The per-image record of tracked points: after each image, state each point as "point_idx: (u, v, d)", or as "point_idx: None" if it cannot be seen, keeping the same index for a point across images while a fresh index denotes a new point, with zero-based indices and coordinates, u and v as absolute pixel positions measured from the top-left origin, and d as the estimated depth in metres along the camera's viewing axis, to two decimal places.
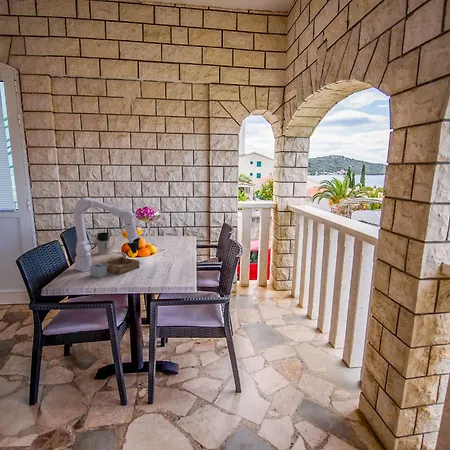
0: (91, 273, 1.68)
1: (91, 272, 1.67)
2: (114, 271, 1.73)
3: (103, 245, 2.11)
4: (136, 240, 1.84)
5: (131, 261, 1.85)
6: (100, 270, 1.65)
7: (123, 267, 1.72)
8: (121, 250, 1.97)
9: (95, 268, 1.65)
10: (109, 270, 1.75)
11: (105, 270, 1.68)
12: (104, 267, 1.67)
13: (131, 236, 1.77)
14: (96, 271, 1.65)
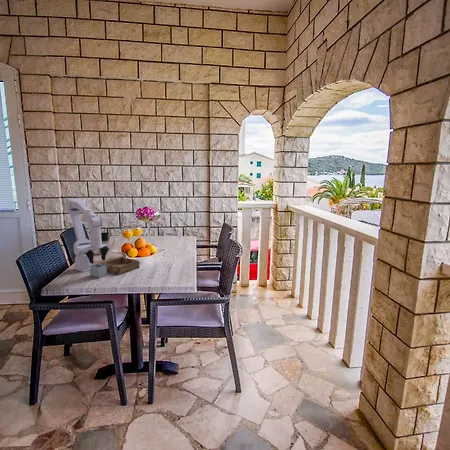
0: (91, 273, 1.68)
1: (91, 272, 1.67)
2: (114, 271, 1.73)
3: None
4: (103, 250, 1.69)
5: (131, 261, 1.85)
6: (100, 270, 1.65)
7: (123, 267, 1.72)
8: (121, 250, 1.97)
9: (95, 268, 1.65)
10: (109, 270, 1.75)
11: (105, 270, 1.68)
12: (104, 267, 1.67)
13: (91, 245, 1.63)
14: (96, 271, 1.65)
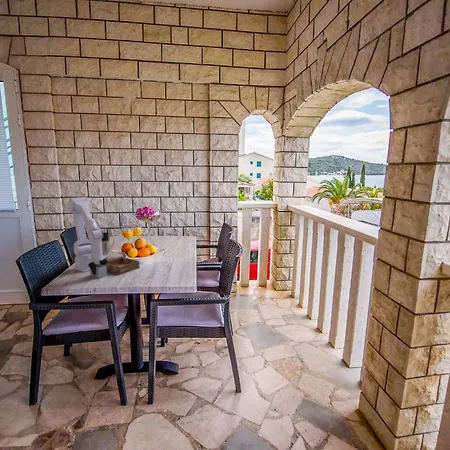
0: (91, 273, 1.68)
1: (91, 272, 1.67)
2: (114, 271, 1.73)
3: (103, 245, 2.11)
4: (103, 262, 1.69)
5: (131, 261, 1.85)
6: (100, 270, 1.65)
7: (123, 267, 1.72)
8: (121, 250, 1.97)
9: None
10: (109, 270, 1.75)
11: (105, 270, 1.68)
12: (104, 267, 1.67)
13: (92, 257, 1.64)
14: (96, 271, 1.65)
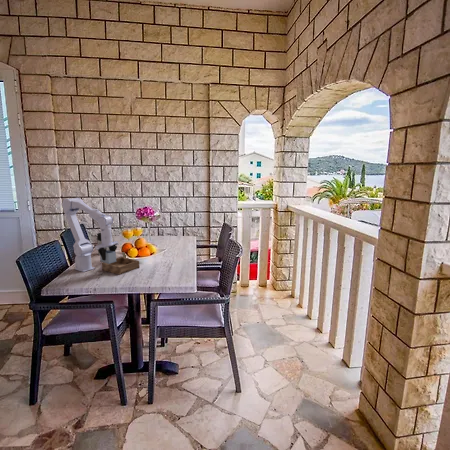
0: (101, 259, 1.72)
1: (101, 257, 1.72)
2: (114, 271, 1.73)
3: None
4: (112, 248, 1.73)
5: (131, 261, 1.85)
6: (110, 256, 1.69)
7: (123, 267, 1.72)
8: (121, 250, 1.97)
9: None
10: (109, 270, 1.75)
11: (114, 256, 1.72)
12: (114, 253, 1.71)
13: (102, 242, 1.68)
14: (106, 257, 1.69)
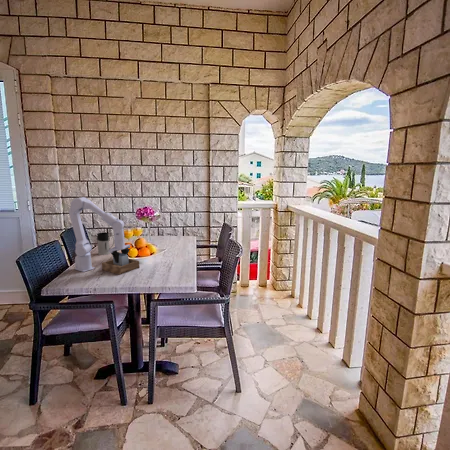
0: (114, 261, 1.79)
1: (114, 260, 1.79)
2: (114, 271, 1.73)
3: (103, 245, 2.11)
4: (124, 251, 1.81)
5: (131, 261, 1.85)
6: (123, 258, 1.76)
7: (123, 267, 1.72)
8: None
9: None
10: (109, 270, 1.75)
11: (127, 259, 1.79)
12: (126, 256, 1.78)
13: (115, 246, 1.76)
14: (119, 259, 1.77)
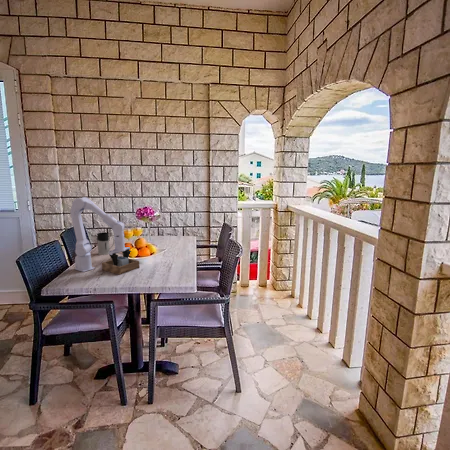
0: None
1: None
2: (114, 271, 1.73)
3: (103, 245, 2.11)
4: (126, 252, 1.82)
5: (131, 261, 1.85)
6: (123, 262, 1.77)
7: (123, 267, 1.72)
8: None
9: (118, 260, 1.77)
10: (109, 270, 1.75)
11: (127, 262, 1.79)
12: (126, 259, 1.79)
13: (116, 248, 1.76)
14: (119, 263, 1.77)
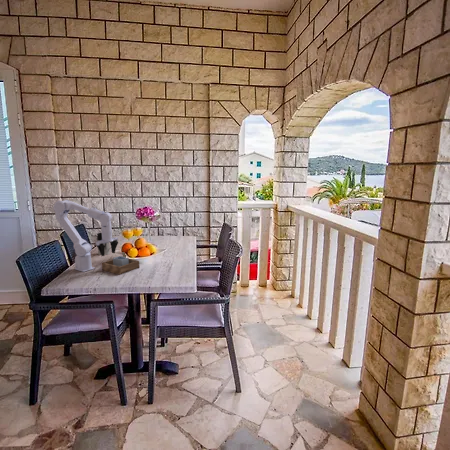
0: None
1: (114, 263, 1.79)
2: (114, 271, 1.73)
3: None
4: (113, 243, 1.80)
5: (131, 261, 1.85)
6: (123, 262, 1.77)
7: (123, 267, 1.72)
8: (121, 250, 1.97)
9: (118, 260, 1.77)
10: (109, 270, 1.75)
11: (127, 262, 1.79)
12: (126, 259, 1.79)
13: (103, 238, 1.75)
14: (119, 263, 1.77)
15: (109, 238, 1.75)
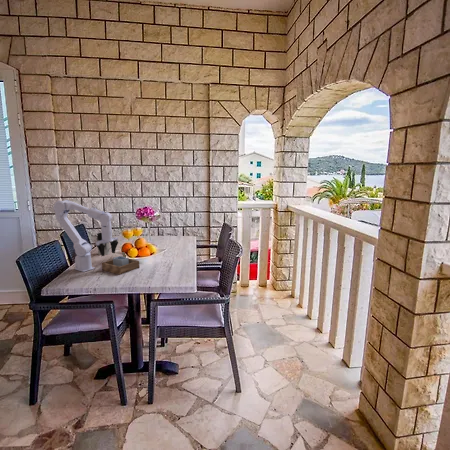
0: None
1: (114, 263, 1.79)
2: (114, 271, 1.73)
3: None
4: (113, 243, 1.80)
5: (131, 261, 1.85)
6: (123, 262, 1.77)
7: (123, 267, 1.72)
8: (121, 250, 1.97)
9: (118, 260, 1.77)
10: (109, 270, 1.75)
11: (127, 262, 1.79)
12: (126, 259, 1.79)
13: (103, 238, 1.75)
14: (119, 263, 1.77)
15: (109, 238, 1.75)
